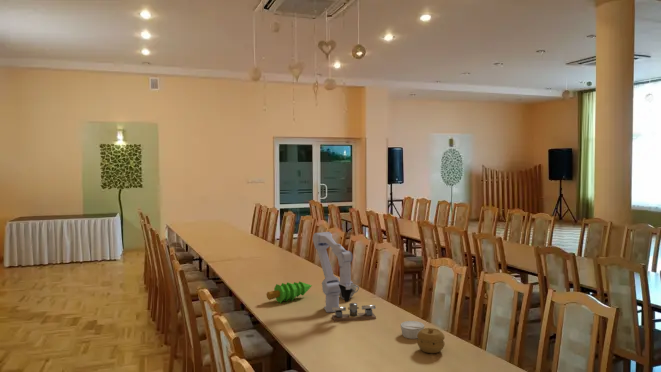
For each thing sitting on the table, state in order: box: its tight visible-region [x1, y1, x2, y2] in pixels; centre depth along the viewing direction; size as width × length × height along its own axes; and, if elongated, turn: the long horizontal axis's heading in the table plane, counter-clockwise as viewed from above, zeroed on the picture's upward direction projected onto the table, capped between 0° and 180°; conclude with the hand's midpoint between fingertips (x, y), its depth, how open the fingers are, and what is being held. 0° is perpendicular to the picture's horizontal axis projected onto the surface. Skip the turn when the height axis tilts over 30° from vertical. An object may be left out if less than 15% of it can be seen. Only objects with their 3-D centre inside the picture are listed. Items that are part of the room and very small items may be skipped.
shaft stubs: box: [332, 304, 376, 318], centre depth 255 cm, size 4×23×5 cm, turn 99°
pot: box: [416, 327, 446, 354], centre depth 210 cm, size 12×12×10 cm
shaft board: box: [331, 311, 377, 322], centre depth 255 cm, size 7×22×1 cm, turn 99°
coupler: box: [347, 302, 360, 316], centre depth 255 cm, size 4×6×6 cm, turn 101°
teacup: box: [339, 283, 360, 300], centre depth 292 cm, size 15×12×8 cm
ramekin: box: [400, 320, 425, 340], centre depth 229 cm, size 11×11×5 cm
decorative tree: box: [265, 281, 313, 304], centre depth 289 cm, size 11×12×30 cm
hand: (345, 299), depth 256 cm, fingers open, 7 cm apart
